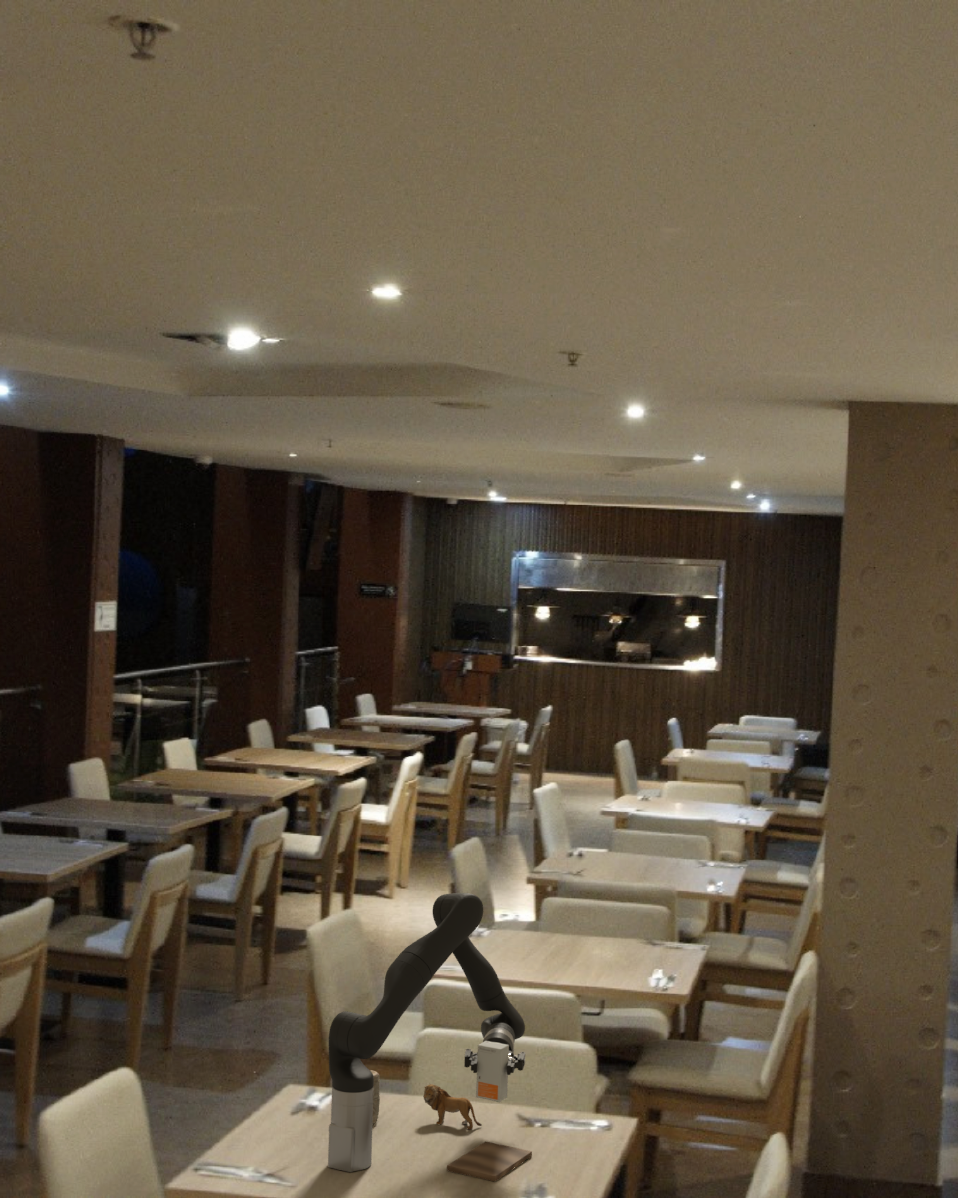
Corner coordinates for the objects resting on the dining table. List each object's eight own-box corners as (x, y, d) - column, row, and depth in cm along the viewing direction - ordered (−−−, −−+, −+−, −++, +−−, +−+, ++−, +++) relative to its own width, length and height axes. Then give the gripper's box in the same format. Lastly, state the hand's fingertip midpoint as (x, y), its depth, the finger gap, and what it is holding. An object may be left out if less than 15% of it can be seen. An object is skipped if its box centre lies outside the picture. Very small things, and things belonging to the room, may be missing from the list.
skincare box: (475, 1098, 350) (476, 1044, 350) (484, 1093, 354) (485, 1040, 353) (499, 1103, 347) (500, 1049, 347) (508, 1097, 351) (509, 1044, 351)
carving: (384, 1121, 377) (386, 1071, 377) (366, 1129, 370) (368, 1079, 370) (363, 1115, 380) (364, 1066, 380) (344, 1124, 373) (346, 1074, 373)
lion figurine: (419, 1124, 375) (420, 1087, 375) (426, 1117, 380) (427, 1080, 380) (479, 1131, 371) (480, 1093, 371) (484, 1124, 376) (485, 1087, 376)
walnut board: (495, 1181, 339) (495, 1176, 339) (446, 1171, 345) (447, 1165, 345) (531, 1156, 355) (532, 1151, 355) (485, 1146, 361) (485, 1141, 361)
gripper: (467, 1030, 365) (460, 1051, 348) (528, 1033, 364) (524, 1054, 347) (466, 1062, 365) (459, 1084, 349) (527, 1065, 364) (523, 1088, 347)
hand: (492, 1069), depth 348 cm, fingers closed on skincare box, 7 cm apart
